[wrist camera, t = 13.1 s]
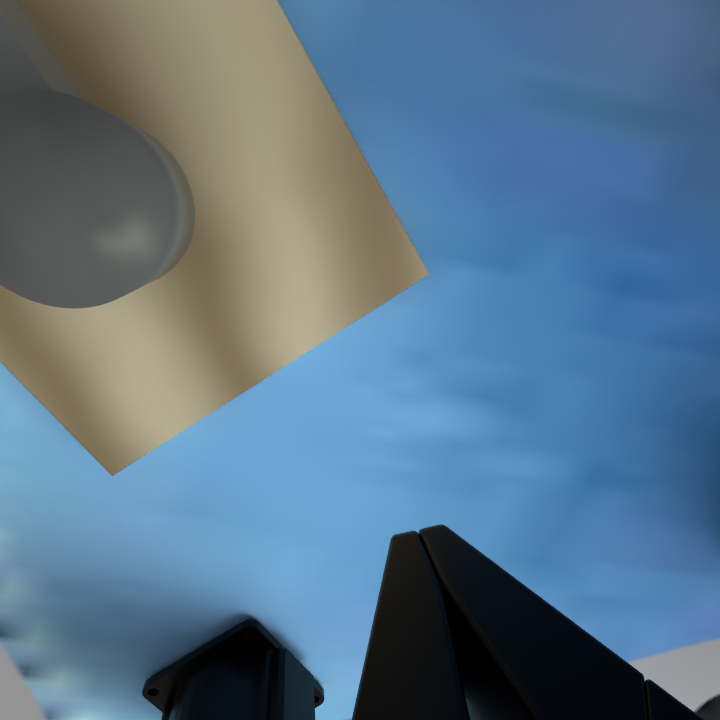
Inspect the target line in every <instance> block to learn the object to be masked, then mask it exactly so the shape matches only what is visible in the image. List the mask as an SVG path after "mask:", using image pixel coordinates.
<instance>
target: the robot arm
mask: <svg viewBox="0 0 720 720" xmlns="http://www.w3.org/2000/svg"><path fill="white" fill-rule="evenodd" d="M248 631H252V632H248ZM142 694H143V696H144V697H145V698H146V699H147V700H148V701H150V702H151V703H152V704H153V705H154V706H156V707H157V708H158V709H159V710H160V711H162V712H163V715H162V718H161V720H315V708H316V707H318V706H319V705H321V704H322V703H323V701H324V689H323V688H322V687H321V686H320V684H319V683H318V682H317V681H316V680H315V679H314V677H313V675H312V674H311V673H310V672H309V671H308V670H307V669H306V668H305V667H304V666H303V665H302V664H301V663H300V662H299V661H298V660H297V659H296V658H295V657H294V656H293V655H292V654H291V653H290V652H289V651H288V650H287V649H286V648H284V647H283V646H282V645H281V644H280V643H279V642H278V641H277V640H276V639H275V638H274V637H273V636H272V635H271V634H270V633H269V632H268V631H267V630H266V629H265V628H264V627H263V626H262V625H261V624H260V623H259V622H258V621H256V620H253V619H250V620H246V621H243V622H242V623H240V624H238V625H237V626H235V627H233V628H232V629H230V630H228V631H227V632H225V633H223V634H222V635H220V636H218V637H217V638H215V639H213V640H212V641H210V642H208V643H207V644H205V645H203V646H202V647H200V648H198V649H197V650H195V651H193V652H192V653H190V654H189V655H187V656H185V657H184V658H182V659H180V660H179V661H177V662H175V663H174V664H172V665H170V666H169V667H167V668H165V669H164V670H162V671H160V672H159V673H157V674H155V675H154V676H152V677H150V678H149V679H147V680H146V682H145V685H144V688H143V691H142ZM352 720H704V719H703V718H701V717H700V716H699V715H697V714H696V713H695V712H693V711H692V710H690V709H689V708H688V707H686V706H685V705H683V704H682V703H681V702H679V701H678V700H677V699H675V698H674V697H673V696H671V695H670V694H669V693H667V692H666V691H665V690H663V689H662V688H661V687H659V686H658V685H657V684H655V683H654V682H653V681H651V680H646V681H644V676H643V674H642V673H640V672H639V671H638V670H636V669H635V668H634V667H632V666H631V665H630V664H629V663H627V662H626V661H625V660H623V659H622V658H621V657H619V656H618V655H617V654H615V653H614V652H613V651H611V650H610V649H609V648H607V647H606V646H605V645H603V644H602V643H601V642H599V641H598V640H597V639H595V638H594V637H593V636H591V635H590V634H589V633H587V632H586V631H585V630H583V629H582V628H581V627H579V626H578V625H577V624H575V623H574V622H573V621H571V620H570V619H569V618H567V617H566V616H565V615H563V614H562V613H561V612H559V611H558V610H557V609H555V608H554V607H553V606H551V605H550V604H549V603H547V602H546V601H545V600H543V599H542V598H541V597H539V596H538V595H537V594H535V593H534V592H533V591H531V590H530V589H529V588H527V587H526V586H525V585H523V584H522V583H521V582H519V581H518V580H517V579H516V578H514V577H513V576H512V575H510V574H509V573H508V572H506V571H505V570H504V569H502V568H501V567H500V566H498V565H497V564H496V563H494V562H493V561H492V560H490V559H489V558H488V557H486V556H485V555H484V554H482V553H481V552H480V551H478V550H477V549H476V548H474V547H473V546H472V545H470V544H469V543H468V542H466V541H465V540H464V539H462V538H461V537H460V536H458V535H457V534H456V533H454V532H453V531H452V530H450V529H449V528H448V527H446V526H445V525H436V526H431V527H427V528H423V529H421V530H420V531H419V533H417V532H416V531H409V532H405V533H401V534H396V535H394V536H393V537H392V538H391V541H390V546H389V550H388V555H387V560H386V564H385V569H384V574H383V578H382V583H381V587H380V592H379V597H378V601H377V606H376V610H375V615H374V620H373V624H372V629H371V634H370V638H369V643H368V647H367V652H366V657H365V661H364V666H363V670H362V675H361V680H360V684H359V689H358V694H357V698H356V703H355V707H354V712H353V717H352Z"/></svg>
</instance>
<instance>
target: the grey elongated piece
mask: <svg viewBox="0 0 720 720" xmlns="http://www.w3.org/2000/svg"><path fill="white" fill-rule="evenodd" d="M194 224H195V206H194V199H193V195H192V191H191V188H190V185H189V183H188V180H187V178H186V176H185V174H184V172H183V170H182V168H181V166H180V165H179V164H178V162H177V161H176V159H175V158H174V156H173V155H172V154H171V153H170V152H169V151H168V150H167V149H166V148H165V147H164V146H163V145H162V144H161V143H160V142H159V141H158V140H157V139H155V138H154V137H152V136H151V135H150V134H148V133H147V132H145V131H143V130H141V129H140V128H138V127H136V126H134V125H132V124H130V123H128V122H126V121H124V120H122V119H120V118H118V117H116V116H114V115H112V114H110V113H108V112H106V111H104V110H102V109H101V108H99V107H97V106H95V105H93V104H91V103H89V102H87V101H85V100H82V98H81V97H80V95H79V94H78V92H77V91H76V89H75V88H74V86H73V85H72V83H71V82H70V80H69V79H68V77H67V76H66V74H65V73H64V71H63V70H62V68H61V67H60V65H59V64H58V62H57V61H56V59H55V58H54V56H53V55H52V53H51V52H50V50H49V49H48V47H47V46H46V44H45V43H44V41H43V40H42V38H41V37H40V35H39V34H38V32H37V31H36V29H35V28H34V26H33V25H32V23H31V22H30V20H29V19H28V17H27V16H26V14H25V13H24V11H23V10H22V8H21V7H20V5H19V4H18V2H17V1H16V0H0V285H2V286H3V287H5V288H6V289H8V290H10V291H12V292H13V293H15V294H17V295H19V296H21V297H24V298H26V299H29V300H31V301H34V302H37V303H40V304H44V305H48V306H53V307H59V308H72V309H76V308H89V307H95V306H100V305H103V304H106V303H109V302H112V301H114V300H117V299H119V298H121V297H123V296H125V295H127V294H129V293H131V292H133V291H135V290H137V289H139V288H141V287H143V286H145V285H147V284H149V283H151V282H153V281H155V280H157V279H159V278H161V277H162V276H164V275H165V274H167V273H168V272H169V271H170V270H172V269H173V268H174V267H175V266H176V265H177V264H178V262H179V261H180V260H181V259H182V257H183V256H184V254H185V252H186V251H187V249H188V246H189V244H190V242H191V239H192V235H193V231H194Z"/></svg>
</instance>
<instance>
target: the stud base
mask: <svg viewBox="0 0 720 720" xmlns="http://www.w3.org/2000/svg"><path fill="white" fill-rule="evenodd" d="M16 1H17V2H18V4H19V5H20V7H21V8H22V10H23V11H24V13H25V14H26V16H27V17H28V19H29V20H30V22H31V23H32V25H33V26H34V28H35V29H36V31H37V32H38V34H39V35H40V37H41V38H42V40H43V41H44V43H45V44H46V46H47V47H48V49H49V50H50V52H51V53H52V55H53V56H54V58H55V59H56V61H57V62H58V64H59V65H60V67H61V68H62V70H63V71H64V73H65V74H66V76H67V77H68V79H69V80H70V82H71V83H72V85H73V86H74V88H75V89H76V91H77V92H78V94H79V95H80V97H81V98H82V100H85V101H87V102H89V103H91V104H93V105H95V106H97V107H99V108H101V109H102V110H104V111H106V112H108V113H110V114H112V115H114V116H116V117H118V118H120V119H122V120H124V121H126V122H128V123H130V124H132V125H134V126H136V127H138V128H140V129H141V130H143V131H145V132H147V133H148V134H150V135H151V136H152V137H154V138H155V139H157V140H158V141H159V142H160V143H161V144H162V145H163V146H164V147H165V148H166V149H167V150H168V151H169V152H170V153H171V154H172V155H173V156H174V158H175V159H176V161H177V162H178V164H179V165H180V166H181V168H182V170H183V172H184V174H185V176H186V178H187V180H188V183H189V185H190V188H191V191H192V195H193V199H194V206H195V224H194V231H193V235H192V239H191V242H190V244H189V246H188V249H187V251H186V252H185V254H184V256H183V257H182V259H181V260H180V261H179V262H178V264H177V265H176V266H175V267H174V268H173V269H172V270H170V271H169V272H168V273H167V274H165V275H164V276H162V277H161V278H159V279H157V280H155V281H153V282H151V283H149V284H147V285H145V286H143V287H141V288H139V289H137V290H135V291H133V292H131V293H129V294H127V295H125V296H123V297H121V298H119V299H117V300H114V301H112V302H109V303H106V304H103V305H100V306H95V307H89V308H76V309H72V308H59V307H53V306H48V305H44V304H40V303H37V302H34V301H31V300H29V299H26V298H24V297H21V296H19V295H17V294H15V293H13V292H12V291H10V290H8V289H6V288H5V287H3V286H2V285H0V362H1V363H2V364H3V365H4V366H5V367H6V368H7V369H8V370H9V371H10V372H11V373H12V374H13V375H14V376H15V377H16V378H17V379H18V380H19V381H20V383H21V384H22V385H23V386H24V387H25V388H26V389H27V390H28V391H29V392H30V393H31V394H32V395H33V396H34V397H35V398H36V399H37V400H38V401H39V402H40V403H41V404H42V405H43V406H44V407H45V408H46V409H47V410H48V411H49V412H50V413H51V414H52V415H53V416H54V417H55V418H56V419H57V420H58V421H59V422H60V423H61V424H62V425H63V426H64V427H65V429H66V430H67V431H68V432H69V433H70V434H71V435H72V436H73V437H74V438H75V439H76V440H77V441H78V442H79V443H80V444H81V445H82V446H83V447H84V448H85V449H86V450H87V451H88V452H89V453H90V454H91V455H92V456H93V457H94V458H95V459H96V460H97V461H98V462H99V463H100V464H101V465H102V466H103V467H104V468H105V469H106V470H107V471H108V472H109V474H110V475H111V476H113V475H115V474H116V473H118V472H119V471H121V470H123V469H124V468H126V467H127V466H129V465H130V464H132V463H134V462H135V461H137V460H138V459H140V458H141V457H143V456H145V455H146V454H148V453H149V452H151V451H152V450H154V449H156V448H157V447H159V446H160V445H162V444H163V443H165V442H167V441H168V440H170V439H171V438H173V437H174V436H176V435H178V434H179V433H181V432H182V431H184V430H185V429H187V428H189V427H190V426H192V425H193V424H195V423H196V422H198V421H200V420H201V419H203V418H204V417H206V416H207V415H209V414H211V413H212V412H214V411H215V410H217V409H218V408H220V407H222V406H223V405H225V404H226V403H228V402H229V401H231V400H233V399H234V398H236V397H237V396H239V395H240V394H242V393H244V392H245V391H247V390H248V389H250V388H251V387H253V386H255V385H256V384H258V383H259V382H261V381H262V380H264V379H266V378H267V377H269V376H270V375H272V374H273V373H275V372H277V371H278V370H280V369H281V368H283V367H284V366H286V365H288V364H289V363H291V362H292V361H294V360H296V359H297V358H299V357H300V356H302V355H303V354H305V353H307V352H308V351H310V350H311V349H313V348H314V347H316V346H318V345H319V344H321V343H322V342H324V341H325V340H327V339H329V338H330V337H332V336H333V335H335V334H336V333H338V332H340V331H341V330H343V329H344V328H346V327H347V326H349V325H351V324H352V323H354V322H355V321H357V320H358V319H360V318H362V317H363V316H365V315H366V314H368V313H369V312H371V311H373V310H374V309H376V308H377V307H379V306H380V305H382V304H384V303H385V302H387V301H388V300H390V299H391V298H393V297H395V296H396V295H398V294H399V293H401V292H402V291H404V290H406V289H407V288H409V287H410V286H412V285H413V284H415V283H417V282H418V281H420V280H421V279H423V278H424V277H426V276H428V275H429V273H428V271H427V269H426V268H425V266H424V264H423V262H422V260H421V259H420V257H419V255H418V253H417V251H416V250H415V248H414V246H413V244H412V242H411V241H410V239H409V237H408V235H407V233H406V232H405V230H404V228H403V226H402V224H401V223H400V221H399V219H398V217H397V215H396V214H395V212H394V210H393V208H392V206H391V205H390V203H389V201H388V199H387V197H386V196H385V194H384V192H383V190H382V188H381V187H380V185H379V183H378V181H377V179H376V178H375V176H374V174H373V172H372V170H371V169H370V167H369V165H368V163H367V161H366V160H365V158H364V156H363V154H362V152H361V151H360V149H359V147H358V145H357V143H356V142H355V140H354V138H353V136H352V134H351V133H350V131H349V129H348V127H347V125H346V124H345V122H344V120H343V118H342V116H341V115H340V113H339V111H338V109H337V107H336V106H335V104H334V102H333V100H332V98H331V97H330V95H329V93H328V91H327V89H326V88H325V86H324V84H323V82H322V80H321V79H320V77H319V75H318V73H317V71H316V70H315V68H314V66H313V64H312V62H311V61H310V59H309V57H308V55H307V53H306V52H305V50H304V48H303V46H302V44H301V43H300V41H299V39H298V37H297V35H296V34H295V32H294V30H293V28H292V26H291V25H290V23H289V21H288V19H287V17H286V16H285V14H284V12H283V10H282V8H281V7H280V5H279V3H278V1H277V0H16Z"/></svg>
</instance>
